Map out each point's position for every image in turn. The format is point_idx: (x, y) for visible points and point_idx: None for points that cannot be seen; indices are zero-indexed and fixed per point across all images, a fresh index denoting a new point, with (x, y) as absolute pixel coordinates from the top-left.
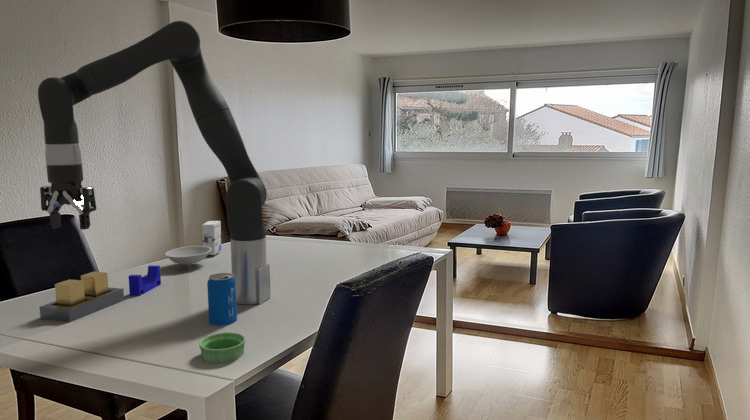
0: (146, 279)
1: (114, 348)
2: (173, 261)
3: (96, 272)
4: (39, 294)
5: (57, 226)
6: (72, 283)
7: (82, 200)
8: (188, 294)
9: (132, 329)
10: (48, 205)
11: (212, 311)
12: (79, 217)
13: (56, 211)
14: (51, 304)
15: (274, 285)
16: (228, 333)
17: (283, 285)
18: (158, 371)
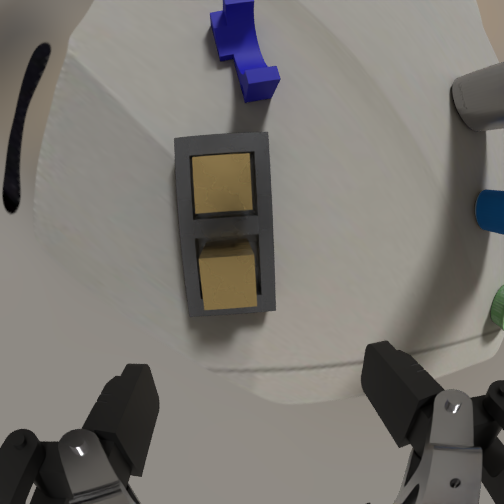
0: (230, 31)
1: (408, 337)
2: None
3: (211, 163)
4: (43, 181)
5: (152, 390)
6: (247, 288)
7: (456, 492)
8: (362, 68)
9: (395, 275)
10: (40, 482)
11: (497, 232)
12: (395, 434)
13: (116, 461)
14: (199, 296)
15: (443, 25)
16: None
17: (451, 27)
18: (465, 349)
